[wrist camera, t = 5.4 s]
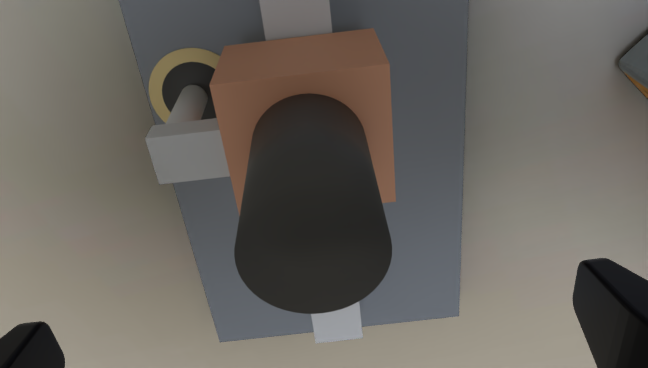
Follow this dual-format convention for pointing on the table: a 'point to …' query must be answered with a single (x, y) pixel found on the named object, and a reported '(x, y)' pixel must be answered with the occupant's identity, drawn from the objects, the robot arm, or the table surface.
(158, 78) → the hole plate
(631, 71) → the hard drive box
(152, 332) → the table surface
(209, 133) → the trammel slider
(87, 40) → the table surface
